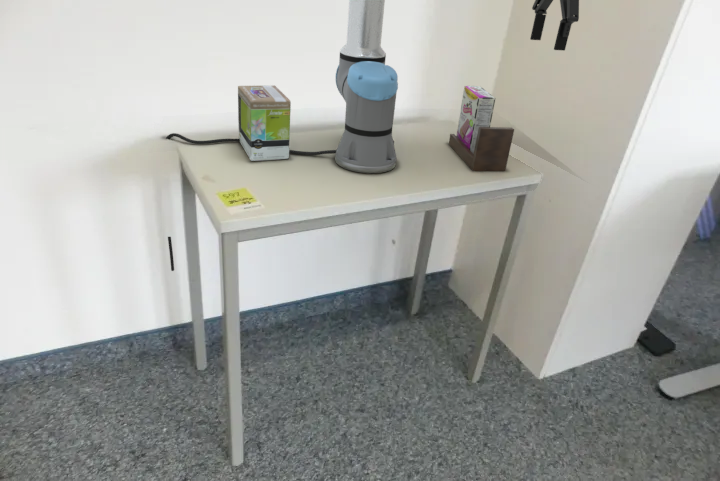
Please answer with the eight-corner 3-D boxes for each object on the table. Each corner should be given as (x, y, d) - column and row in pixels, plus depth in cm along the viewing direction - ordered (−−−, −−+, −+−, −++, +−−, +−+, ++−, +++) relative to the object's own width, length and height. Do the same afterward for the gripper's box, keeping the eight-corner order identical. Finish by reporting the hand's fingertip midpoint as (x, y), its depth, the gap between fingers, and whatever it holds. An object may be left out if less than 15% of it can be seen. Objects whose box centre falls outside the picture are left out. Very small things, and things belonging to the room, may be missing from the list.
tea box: (290, 159, 138) (291, 100, 131) (250, 162, 134) (249, 101, 127) (275, 138, 150) (275, 83, 143) (237, 141, 146) (236, 84, 139)
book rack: (472, 170, 141) (480, 128, 135) (448, 144, 157) (454, 105, 152) (505, 171, 143) (514, 129, 137) (477, 144, 159) (485, 106, 154)
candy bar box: (453, 143, 158) (463, 85, 150) (470, 143, 159) (481, 85, 151) (467, 158, 149) (478, 96, 141) (484, 158, 150) (497, 97, 141)
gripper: (609, -41, 127) (584, 55, 138) (557, -47, 148) (538, 36, 159) (580, -44, 126) (556, 54, 136) (531, -50, 147) (514, 35, 157)
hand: (546, 44), depth 147 cm, fingers open, 13 cm apart
